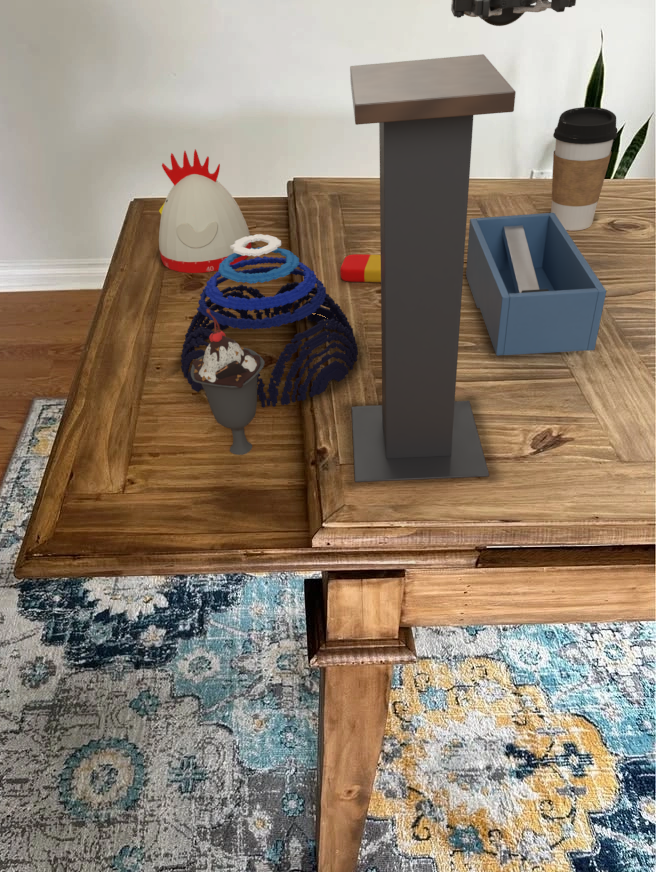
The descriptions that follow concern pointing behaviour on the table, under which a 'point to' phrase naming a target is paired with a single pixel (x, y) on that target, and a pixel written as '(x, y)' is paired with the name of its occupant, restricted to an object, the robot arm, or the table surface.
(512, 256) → the long rectangular bar
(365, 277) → the popsicle
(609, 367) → the table surface
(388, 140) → the shelf stand
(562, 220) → the coffee cup
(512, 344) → the bin
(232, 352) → the sundae
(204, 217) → the kitchen timer
